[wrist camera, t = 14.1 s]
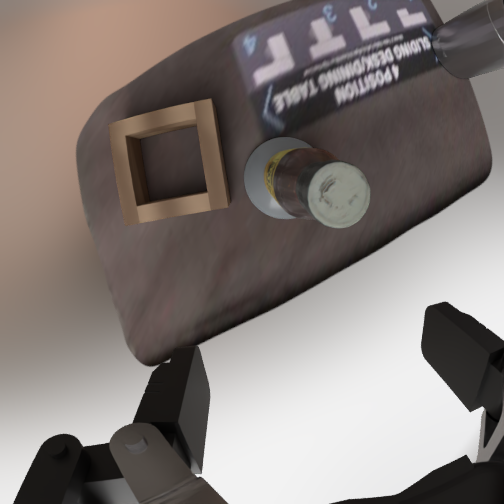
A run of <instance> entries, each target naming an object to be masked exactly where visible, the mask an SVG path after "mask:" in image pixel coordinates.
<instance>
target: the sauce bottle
mask: <svg viewBox="0 0 504 504" xmlns="http://www.w3.org/2000/svg"><path fill="white" fill-rule="evenodd" d="M264 182H265V186H266V188H267V190H268V192H269V193H270V194H271V196H272V197H273V198H274V199H275V200H276V202H277V203H278V204H279V205H280V206H281V208H282V209H283V210H284V211H285V212H287V213H288V214H289V215H291V216H293V217H296V218H300V219H312V220H317V221H318V222H319V223H321V224H323V225H325V226H327V227H331V228H344V227H349V226H351V225H353V224H355V223H356V222H358V221H359V220H360V219H361V218H362V217H363V215H364V214H365V212H366V210H367V209H368V207H369V202H370V187H369V184H368V181H367V179H366V177H365V175H364V174H363V173H362V171H361V170H360V169H358V168H357V167H356V166H354V165H352V164H350V163H347V162H344V161H340V160H338V159H337V157H335V156H334V155H333V154H331V153H329V152H327V151H325V150H322V149H318V148H308V147H302V148H296V149H289V150H284V151H281V152H278V153H277V154H275V155H274V156H272V157H271V159H270V160H269V161H268V163H267V164H266V166H265V170H264Z"/></svg>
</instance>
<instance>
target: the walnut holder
mask: <svg viewBox="0 0 504 504" xmlns="http://www.w3.org/2000/svg"><path fill="white" fill-rule="evenodd" d="M108 126H109V134H110V142H111V149H112V156H113V163H114V169H115V175H116V181H117V187H118V192H119V198H120V203H121V208H122V213H123V218H124V223H125V226H128V225H133V224H138V223H143V222H148V221H154V220H159V219H164V218H170V217H175V216H181V215H186V214H192V213H198V212H204V211H210V210H216V209H222V208H228V207H229V205H230V203H231V200H230V194H229V188H228V182H227V176H226V169H225V163H224V157H223V150H222V144H221V138H220V131H219V125H218V118H217V112H216V107H215V105H214V103H213V101H212V99H206V100H201V101H196V102H191V103H186V104H182V105H177V106H173V107H169V108H164V109H160V110H156V111H152V112H149V113H145V114H141V115H138V116H134V117H130V118H127V119H124V120H120V121H117V122H114V123H111V124H108ZM194 126H197V129H198V135H199V142H200V148H201V155H202V161H203V167H204V173H205V179H206V185H207V191H203V192H197V193H192V194H186V195H181V196H176V197H171V198H165V199H160V200H155V201H151V202H150V199H149V193H148V188H147V182H146V176H145V170H144V164H143V158H142V151H141V144H140V139H142V138H145V137H149V136H153V135H158V134H162V133H166V132H170V131H175V130H179V129H184V128H189V127H194Z"/></svg>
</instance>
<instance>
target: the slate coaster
mask: <svg viewBox="0 0 504 504" xmlns="http://www.w3.org/2000/svg"><path fill="white" fill-rule="evenodd" d="M302 147H308V148H312V147H311V146H310V145H309V144H307V143H305V142H303V141H302V140H299V139H296V138H291V137H279V138H274V139H271V140H268V141H266V142H264V143H263V144H261V145H260V146H259V147H258V148H256V149H255V151H254V152H253V153H252V154H251V156H250V157H249V159H248V161H247V164H246V167H245V172H244V184H245V188H246V191H247V194H248V196H249V198H250V200H251V201H252V203H253V204H254V205H255V206H256V207H257V208H258V209H259V210H260V211H262V212H263V213H265V214H267V215H269V216H271V217H274V218H279V219H293V218H296V217H293V216H291V215H289V214H288V213H287V212H285V211H284V210H283V209H282V208H281V206H280V205H279V204H278V203H277V202H276V200H275V199H274V198H273V197H272V196H271V194H270V193H269V192H268V190H267V188H266V186H265V182H264V170H265V166H266V164H267V163H268V161H269V160H270V159H271V157H272V156H274V155H275V154H277V153H278V152H281V151H284V150H289V149H296V148H302Z"/></svg>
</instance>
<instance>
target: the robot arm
mask: <svg viewBox="0 0 504 504" xmlns="http://www.w3.org/2000/svg"><path fill="white" fill-rule="evenodd" d="M432 45H433V49H434V52H435V54H436V56H437V58H438V60H439V61H440V62H441V64H442V65H443V66H444V67H445V69H446V70H447V71H449V72H450V73H451V74H452V75H454V76H456V77H458V78H461V79H468V78H471V77H475V76H478V75H481V74H485V73H489V72H492V71H495V70H499V69H503V68H504V0H484V1H483V2H481V3H479V4H477V5H475V6H474V7H472V8H470V9H468V10H467V11H465V12H463V13H461V14H460V15H458V16H457V17H455V18H453V19H452V20H450V21H448V22H446V23H445V24H443V25H442V26H440V27H438V28H437V29H436V30H435V31H434V32H433V35H432ZM421 349H422V354H423V356H424V358H425V359H426V360H427V362H428V363H429V364H430V365H431V366H432V367H433V369H434V370H435V371H436V372H437V373H438V374H439V376H440V377H441V378H442V379H443V380H444V381H445V383H447V385H448V386H449V387H450V389H451V390H452V391H453V392H454V393H455V395H456V396H457V397H458V398H459V399H460V401H461V402H462V403H463V404H464V405H465V407H466V408H467V409H468V410H469V412H472V411H474V410H476V409H478V408H480V407H482V406H483V407H484V408H485V409H484V411H483V414H482V417H481V418H482V419H481V430H480V440H479V449H478V456H477V460H476V463H471V461H470V459H469V458H468V456H467V455H465V456H463V457H461V458H459V459H457V460H455V461H453V462H451V463H449V464H446V465H444V466H442V467H440V468H438V469H436V470H433V471H432V472H430V473H429V474H428V475H426V476H425V477H423V478H422V479H420V480H419V481H417V482H416V483H415V484H413V485H412V486H410V487H408V488H407V489H405V490H404V491H402V492H401V493H399V494H396V495H392V496H383V497H374V498H363V499H348V500H344V501H340V502H335V503H331V504H504V340H502V339H501V338H500V337H498V336H497V335H496V334H494V333H493V332H492V331H490V330H489V329H486V327H485V326H484V325H482V324H481V323H479V322H478V321H477V320H476V319H475V318H473V317H472V316H470V315H468V314H465V313H462V312H460V311H459V310H458V309H456V308H455V307H453V306H452V305H451V304H449V303H448V302H442V303H438V304H434V305H430V306H428V307H427V308H426V311H425V317H424V326H423V334H422V341H421ZM209 404H210V388H209V383H208V379H207V375H206V371H205V368H204V364H203V360H202V356H201V352H200V349H199V347H198V346H187V347H176V348H175V349H174V352H173V355H172V357H171V360H170V362H169V363H161V364H160V365H159V366H158V367H157V368H156V369H155V370H154V371H153V372H152V375H151V377H150V379H149V382H148V385H147V387H146V389H145V393H144V394H143V397H142V400H141V402H140V405H139V407H138V410H137V412H136V415H135V418H134V420H133V423H132V424H129V425H126V426H124V427H122V428H120V429H119V430H118V431H116V432H115V434H113V436H112V438H111V440H110V443H105V444H99V445H92V446H85V447H83V446H82V444H81V443H80V441H79V440H78V439H77V438H76V437H75V436H73V435H69V434H59V435H55V436H53V437H51V438H49V439H47V440H46V441H45V442H44V443H43V444H42V445H41V447H40V449H39V451H38V453H37V455H36V457H35V459H34V461H33V463H32V465H31V467H30V469H29V471H28V473H27V475H26V477H25V479H24V481H23V483H22V485H21V488H20V490H19V492H18V494H17V496H16V498H15V501H14V503H13V504H228V503H227V502H226V501H225V500H224V499H223V498H222V497H221V496H220V495H219V494H218V493H217V492H216V491H215V490H214V489H213V488H212V487H211V486H210V485H209V484H208V483H207V482H206V481H205V480H204V479H203V478H202V477H196V475H195V474H202V466H203V457H204V448H205V438H206V430H207V421H208V413H209Z"/></svg>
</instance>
